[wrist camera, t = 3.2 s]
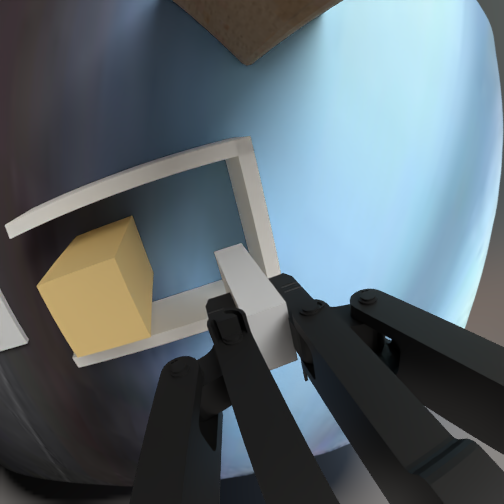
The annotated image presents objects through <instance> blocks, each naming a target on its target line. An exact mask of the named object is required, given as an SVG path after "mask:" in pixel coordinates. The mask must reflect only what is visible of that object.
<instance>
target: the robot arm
mask: <svg viewBox="0 0 504 504" xmlns="http://www.w3.org/2000/svg"><path fill="white" fill-rule="evenodd" d="M214 254H215V257H216V261H217V264H218V267H219V270H220V274H221V277H222V280H223V283H224V286H225V290H226V294H223V295H220V296H217V297H214V298H211V299H208V301H207V304H206V306H205V307H206V311H207V315H208V321H207V328H208V330H209V333H210V335H211V338H212V340H213V343H214V345H213V348H212V349H211V351H210V352H209V353H208V354H206V355H205V356H203V357H202V358H200V359H198V360H196V359H195V358H192V357H190V356H182V357H178V358H175V359H173V360H171V361H170V362H168V363H167V364H166V365H165V366H164V368H163V369H162V371H161V375H160V378H159V382H158V386H157V389H156V393H155V397H154V401H153V404H152V408H151V412H150V416H149V420H148V424H147V428H146V432H145V436H144V441H143V445H142V449H141V453H140V458H139V462H138V466H137V471H136V476H135V480H134V485H133V490H132V494H131V499H130V504H219V502H220V471H221V445H222V422H223V413H222V411H223V410H225V409H226V408H228V407H230V406H231V405H232V407H233V410H234V413H235V416H236V419H237V422H238V426H239V429H240V432H241V435H242V438H243V441H244V444H245V447H246V450H247V452H248V455H249V458H250V461H251V464H252V467H253V470H254V472H255V475H256V478H257V480H258V483H259V486H260V489H261V492H262V494H263V497H264V500H265V502H266V504H340V503H339V502H338V500H337V498H336V496H335V495H334V493H333V491H332V489H331V487H330V486H329V484H328V482H327V480H326V478H325V477H324V475H323V473H322V471H321V469H320V467H319V465H318V464H317V462H316V460H315V458H314V456H313V454H312V452H311V450H310V448H309V447H308V445H307V443H306V441H305V439H304V437H303V435H302V433H301V431H300V429H299V427H298V425H297V424H296V422H295V420H294V418H293V416H292V414H291V412H290V410H289V408H288V406H287V404H286V402H285V400H284V398H283V396H282V394H281V392H280V390H279V388H278V386H277V384H276V382H275V380H274V378H273V376H272V374H271V372H270V370H272V369H275V368H278V367H280V366H283V365H286V364H288V363H291V362H293V361H296V360H298V359H297V354H296V351H297V353H298V354H299V356H300V358H301V363H302V368H303V374H304V378H305V381H307V380H308V377H309V379H310V380H311V382H312V384H313V385H314V387H315V388H316V390H317V392H318V393H319V395H320V396H321V398H322V400H323V401H324V403H325V404H326V406H327V407H328V409H329V411H330V412H331V414H332V415H333V417H334V418H335V420H336V422H337V423H338V425H339V426H340V428H341V429H342V431H343V433H344V434H345V436H346V437H347V439H348V440H349V442H350V444H351V445H352V447H353V448H354V450H355V451H356V453H357V454H358V456H359V457H360V459H361V460H362V462H363V464H364V465H365V467H366V468H367V470H368V471H369V473H370V474H371V476H372V477H373V479H374V480H375V482H376V484H377V485H378V486H379V488H380V489H381V491H382V493H383V494H384V496H385V497H386V499H387V500H388V502H389V503H390V504H504V472H503V470H502V469H501V468H500V467H499V466H498V465H497V464H496V463H495V462H494V461H493V460H492V459H491V458H490V457H489V455H488V454H487V453H486V452H485V451H484V450H483V449H482V448H481V447H480V446H479V445H478V444H477V443H476V442H474V441H472V440H470V439H456V438H454V437H453V436H452V435H451V434H450V433H449V432H448V431H447V430H446V429H445V428H444V427H443V426H442V425H441V423H440V422H439V421H438V420H437V419H436V418H435V417H434V416H433V415H432V414H431V413H430V412H429V411H428V409H427V408H429V409H431V410H432V411H434V412H435V413H437V414H438V415H440V416H441V417H443V418H445V419H446V420H448V421H449V422H451V423H453V424H454V425H456V426H458V427H459V428H461V429H462V430H464V431H465V432H467V433H469V434H470V435H472V436H473V437H475V438H477V439H478V440H480V441H482V442H483V443H485V444H487V445H488V446H490V447H492V448H493V449H495V450H497V451H498V452H500V453H502V454H504V347H502V346H500V345H498V344H496V343H494V342H491V341H489V340H487V339H485V338H483V337H481V336H479V335H476V334H474V333H472V332H470V331H468V330H465V329H463V328H461V327H459V326H457V325H455V324H453V323H450V322H448V321H446V320H444V319H442V318H440V317H437V316H435V315H433V314H431V313H429V312H426V311H424V310H422V309H420V308H417V307H415V306H413V305H411V304H409V303H406V302H404V301H402V300H400V299H397V298H395V297H393V296H391V295H389V294H386V293H384V292H382V291H379V290H376V289H363V290H360V291H358V292H355V293H354V294H353V295H352V296H351V298H350V304H349V305H343V306H338V307H330V306H329V305H328V304H327V303H325V302H324V301H321V300H317V299H313V298H312V297H311V296H310V295H309V294H308V293H307V292H306V291H305V290H304V289H303V288H302V287H301V285H300V284H299V283H297V281H296V280H295V279H294V278H293V277H292V276H290V275H287V274H284V273H282V274H279V275H277V276H274V277H271V278H267V277H266V275H265V274H264V273H263V271H262V270H261V269H260V267H259V266H258V265H257V263H256V262H255V261H254V259H253V258H252V257H251V255H250V254H249V253H248V251H247V250H246V249H245V247H244V246H243V245H242V243H240V244H237V245H233V246H230V247H227V248H224V249H221V250H218V251H215V252H214ZM385 336H387V337H389V338H391V339H392V341H390V340H388V339H386V338H385ZM307 376H308V377H307ZM425 406H426V407H427V408H426V407H425Z"/></svg>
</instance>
